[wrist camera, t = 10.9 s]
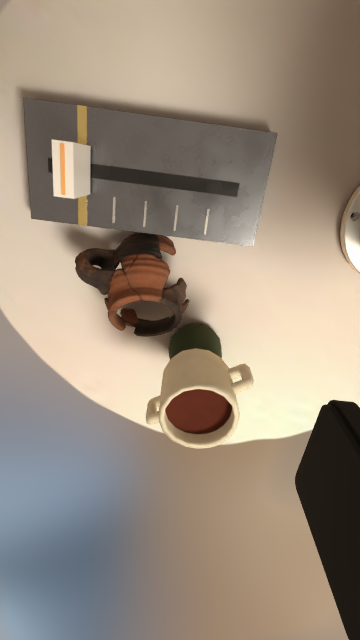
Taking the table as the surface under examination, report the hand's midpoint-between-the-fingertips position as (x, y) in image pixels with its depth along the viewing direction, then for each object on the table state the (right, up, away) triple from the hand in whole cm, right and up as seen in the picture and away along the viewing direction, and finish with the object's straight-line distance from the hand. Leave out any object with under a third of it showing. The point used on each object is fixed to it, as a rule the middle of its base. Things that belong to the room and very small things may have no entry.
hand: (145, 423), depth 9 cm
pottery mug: (-4, +8, +28) cm, 29 cm away
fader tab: (-8, +16, +21) cm, 28 cm away
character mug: (+3, 0, +31) cm, 32 cm away
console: (-2, +17, +23) cm, 29 cm away
